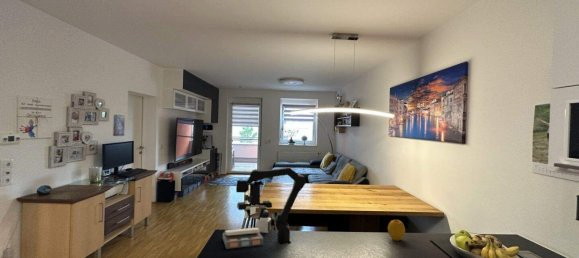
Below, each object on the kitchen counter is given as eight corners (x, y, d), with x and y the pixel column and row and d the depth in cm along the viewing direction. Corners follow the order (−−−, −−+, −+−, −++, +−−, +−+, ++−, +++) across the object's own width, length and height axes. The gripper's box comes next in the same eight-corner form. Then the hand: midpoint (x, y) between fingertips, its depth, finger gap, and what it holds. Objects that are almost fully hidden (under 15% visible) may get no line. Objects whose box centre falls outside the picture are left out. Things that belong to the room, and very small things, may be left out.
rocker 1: (235, 234, 173) (235, 229, 174) (238, 236, 166) (238, 231, 166) (225, 235, 171) (225, 230, 172) (227, 237, 164) (227, 232, 164)
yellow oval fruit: (390, 235, 186) (391, 216, 186) (406, 239, 181) (407, 219, 180) (385, 239, 178) (385, 220, 178) (402, 244, 173) (402, 223, 173)
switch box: (257, 235, 180) (257, 229, 180) (263, 244, 166) (263, 238, 166) (222, 239, 173) (222, 232, 173) (226, 249, 160) (226, 242, 159)
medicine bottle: (267, 233, 184) (268, 213, 184) (256, 232, 186) (257, 212, 185) (271, 229, 191) (271, 210, 191) (260, 228, 193) (260, 209, 192)
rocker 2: (246, 233, 175) (246, 228, 176) (249, 234, 168) (249, 230, 168) (235, 234, 173) (235, 229, 174) (238, 236, 166) (238, 231, 166)
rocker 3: (256, 232, 177) (256, 227, 178) (259, 233, 170) (259, 229, 171) (246, 233, 175) (246, 228, 176) (249, 234, 168) (249, 230, 168)
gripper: (267, 188, 181) (266, 214, 181) (235, 190, 174) (235, 217, 174) (272, 192, 170) (271, 220, 170) (239, 194, 164) (238, 223, 164)
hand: (254, 220), depth 170 cm, fingers open, 5 cm apart
